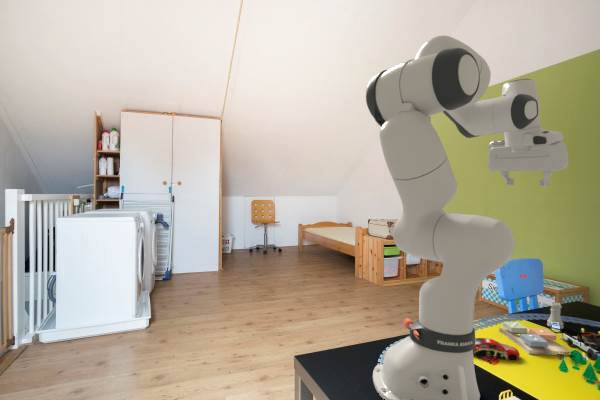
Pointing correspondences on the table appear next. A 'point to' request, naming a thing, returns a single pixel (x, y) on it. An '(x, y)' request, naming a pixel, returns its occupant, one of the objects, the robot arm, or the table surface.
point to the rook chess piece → (555, 314)
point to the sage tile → (515, 327)
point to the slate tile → (534, 340)
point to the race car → (494, 349)
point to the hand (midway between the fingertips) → (526, 185)
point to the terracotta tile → (543, 333)
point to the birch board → (550, 350)
